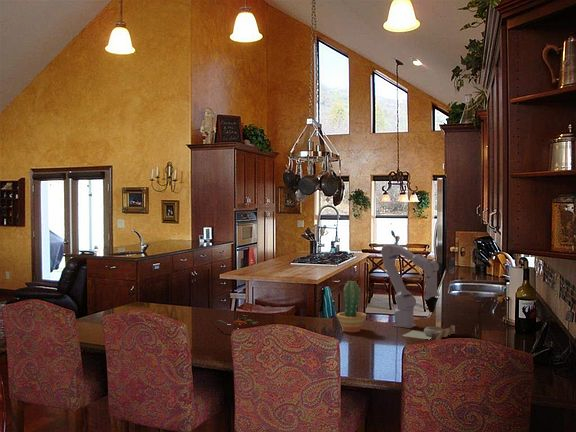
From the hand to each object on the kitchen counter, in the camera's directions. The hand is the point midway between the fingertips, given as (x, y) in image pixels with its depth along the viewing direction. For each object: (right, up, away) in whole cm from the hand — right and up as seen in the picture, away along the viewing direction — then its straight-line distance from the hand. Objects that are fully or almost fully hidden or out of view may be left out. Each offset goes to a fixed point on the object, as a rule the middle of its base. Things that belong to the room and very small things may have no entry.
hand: (431, 312), depth 269 cm
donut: (-4, -8, -6) cm, 10 cm away
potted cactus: (-40, -10, +4) cm, 41 cm away
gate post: (+8, -9, -9) cm, 15 cm away
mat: (-8, -10, -9) cm, 15 cm away
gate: (+1, -9, -17) cm, 19 cm away
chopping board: (-98, -11, +19) cm, 100 cm away
